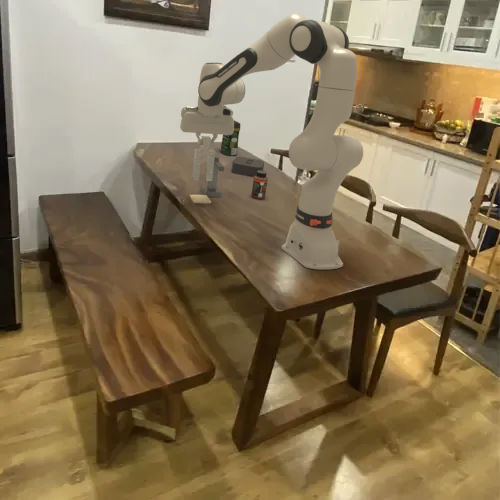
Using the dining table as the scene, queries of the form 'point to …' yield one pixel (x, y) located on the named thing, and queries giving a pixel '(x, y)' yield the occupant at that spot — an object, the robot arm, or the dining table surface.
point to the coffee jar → (231, 141)
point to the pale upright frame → (210, 153)
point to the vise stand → (213, 181)
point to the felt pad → (200, 199)
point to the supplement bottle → (259, 185)
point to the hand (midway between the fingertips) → (205, 144)
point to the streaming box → (247, 166)
